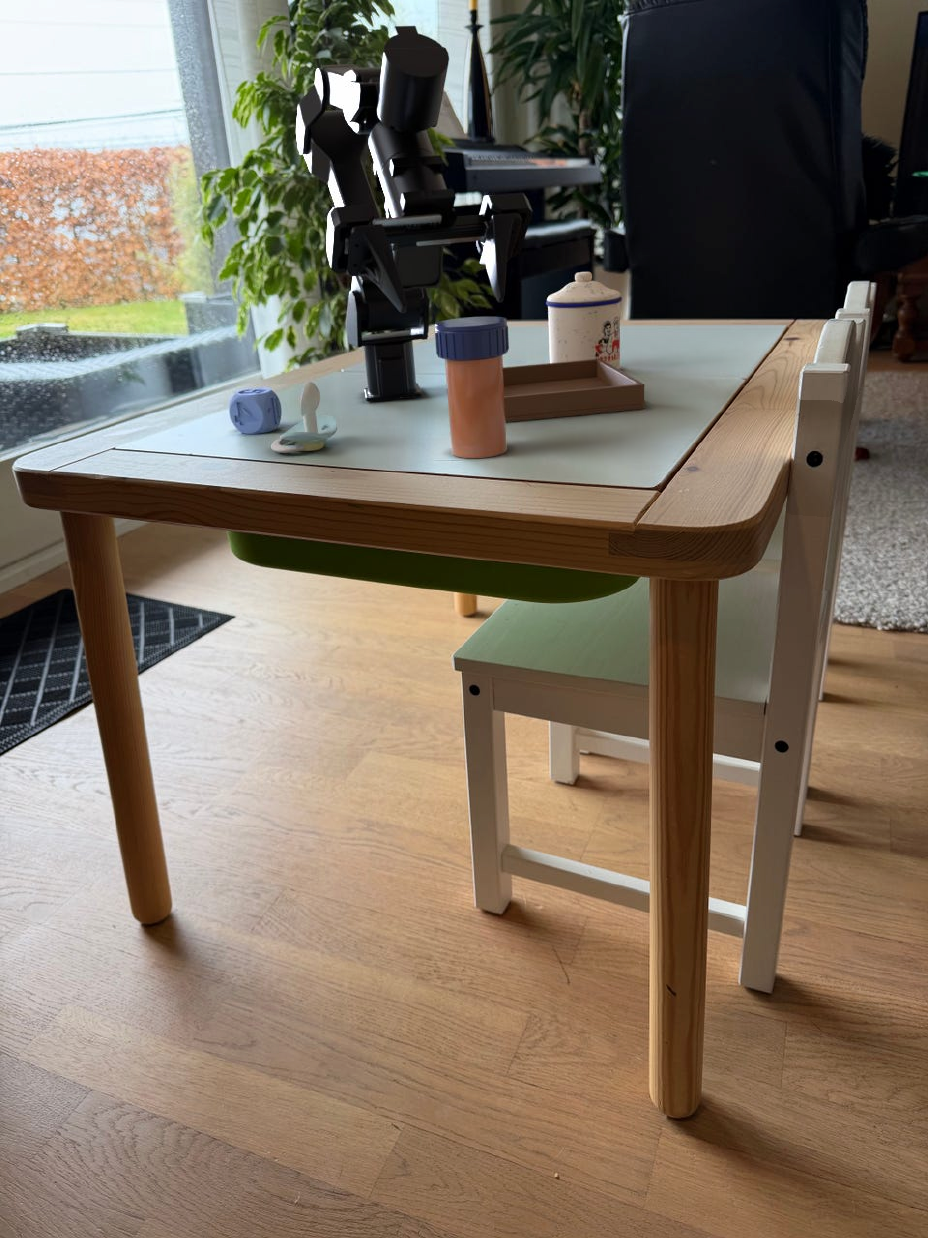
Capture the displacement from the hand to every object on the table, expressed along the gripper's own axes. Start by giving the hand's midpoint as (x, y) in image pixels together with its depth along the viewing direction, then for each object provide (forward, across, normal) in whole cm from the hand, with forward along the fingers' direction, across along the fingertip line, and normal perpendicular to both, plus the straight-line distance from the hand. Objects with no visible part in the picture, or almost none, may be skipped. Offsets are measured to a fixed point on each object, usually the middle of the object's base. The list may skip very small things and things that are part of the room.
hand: (453, 304), depth 85 cm
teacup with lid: (-10, -25, -27) cm, 38 cm away
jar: (+12, 0, -5) cm, 13 cm away
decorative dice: (-3, +17, -21) cm, 27 cm away
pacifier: (+4, +14, -13) cm, 20 cm away
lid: (+4, 0, +2) cm, 5 cm away
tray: (0, -14, -17) cm, 22 cm away
